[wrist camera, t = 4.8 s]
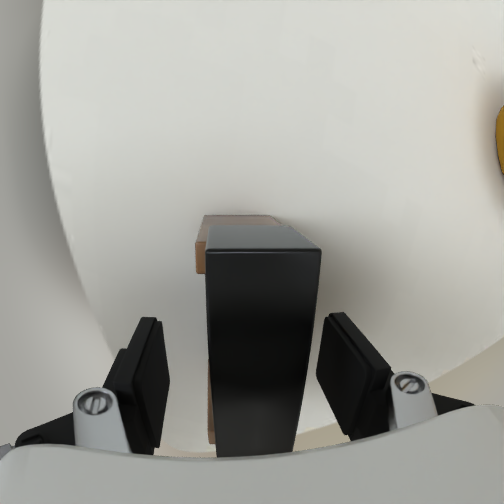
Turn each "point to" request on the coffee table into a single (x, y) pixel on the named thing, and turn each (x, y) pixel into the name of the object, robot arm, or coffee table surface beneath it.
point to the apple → (500, 137)
